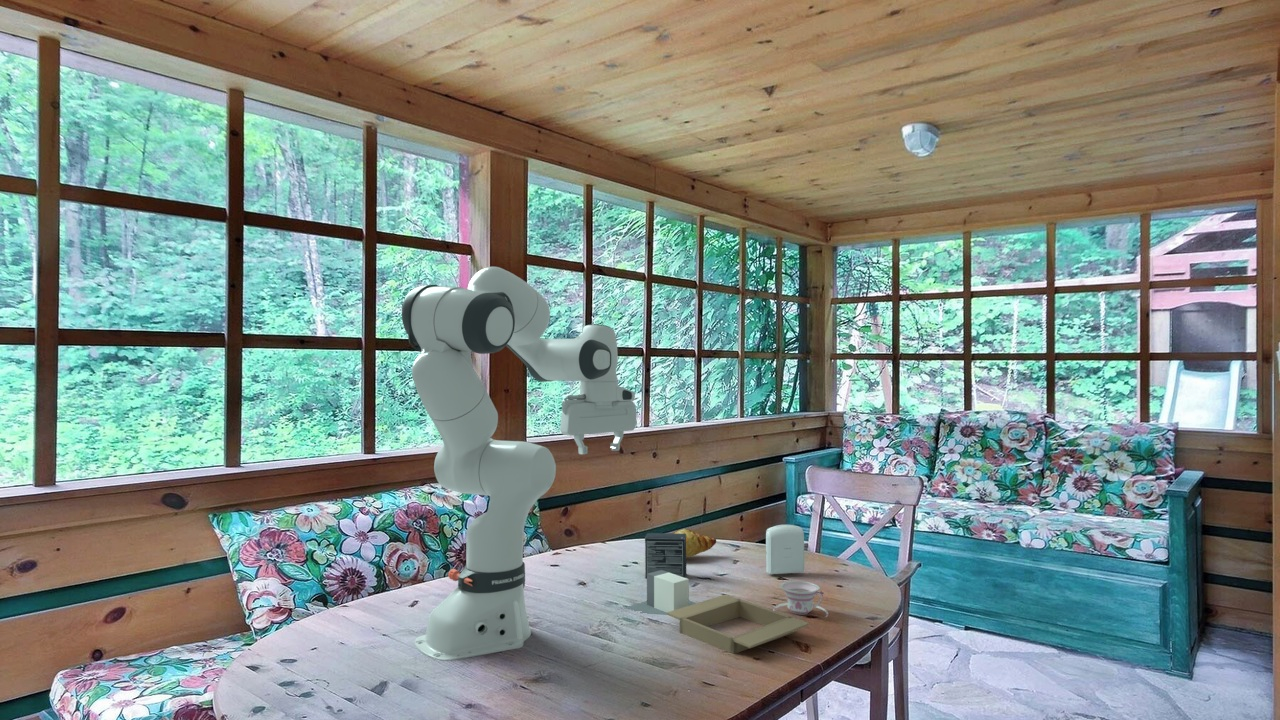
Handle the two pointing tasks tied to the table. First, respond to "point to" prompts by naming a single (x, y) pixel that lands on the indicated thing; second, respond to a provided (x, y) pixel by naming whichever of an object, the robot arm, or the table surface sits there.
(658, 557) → the small box
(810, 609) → the teacup
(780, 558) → the photo printer
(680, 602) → the box
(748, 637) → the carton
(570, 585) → the table surface
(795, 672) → the table surface
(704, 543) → the croissant
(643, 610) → the slate mat
